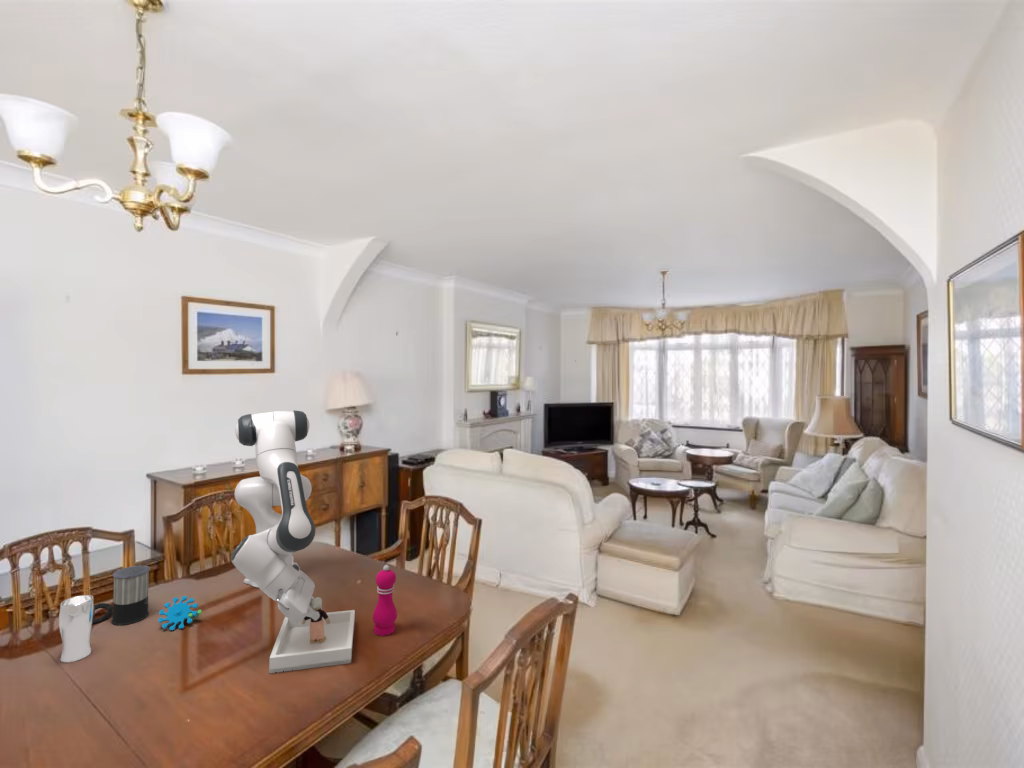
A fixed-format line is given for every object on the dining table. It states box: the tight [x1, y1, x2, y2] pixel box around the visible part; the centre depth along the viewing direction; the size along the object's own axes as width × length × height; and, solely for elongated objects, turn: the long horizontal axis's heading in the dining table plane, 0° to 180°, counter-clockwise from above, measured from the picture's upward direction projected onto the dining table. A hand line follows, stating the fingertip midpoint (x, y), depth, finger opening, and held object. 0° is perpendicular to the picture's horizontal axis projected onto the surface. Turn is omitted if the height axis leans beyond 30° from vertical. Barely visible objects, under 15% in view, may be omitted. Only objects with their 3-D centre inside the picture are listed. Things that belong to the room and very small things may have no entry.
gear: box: [158, 595, 203, 632], centre depth 146 cm, size 11×6×10 cm
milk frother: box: [93, 564, 151, 626], centre depth 147 cm, size 14×16×15 cm
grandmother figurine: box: [301, 596, 330, 644], centre depth 136 cm, size 8×4×13 cm, turn 109°
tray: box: [268, 609, 356, 674], centre depth 136 cm, size 22×20×4 cm
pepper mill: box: [372, 564, 398, 637], centre depth 145 cm, size 7×7×20 cm
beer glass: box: [58, 594, 95, 663], centre depth 128 cm, size 7×7×15 cm
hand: (319, 614), depth 136 cm, fingers open, 3 cm apart
